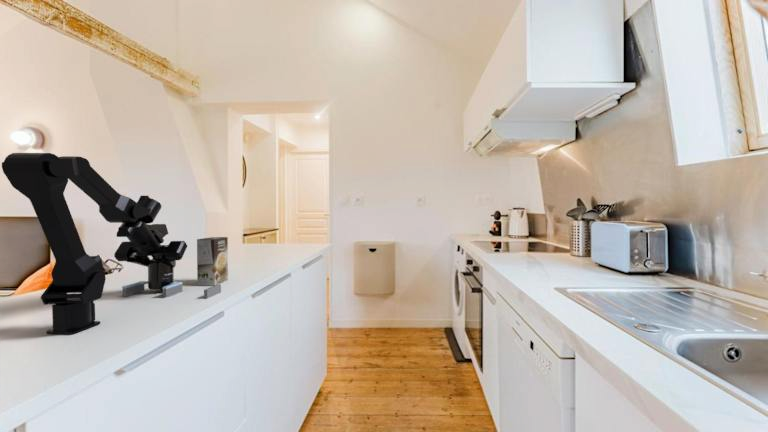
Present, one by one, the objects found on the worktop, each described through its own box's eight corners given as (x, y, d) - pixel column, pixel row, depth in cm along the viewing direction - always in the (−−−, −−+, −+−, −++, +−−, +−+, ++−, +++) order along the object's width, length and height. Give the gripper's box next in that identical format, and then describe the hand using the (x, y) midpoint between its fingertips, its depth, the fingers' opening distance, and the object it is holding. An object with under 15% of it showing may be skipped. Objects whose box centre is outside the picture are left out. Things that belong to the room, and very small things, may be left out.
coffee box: (215, 285, 112) (214, 239, 112) (196, 285, 112) (195, 239, 112) (228, 279, 121) (228, 236, 121) (212, 279, 122) (211, 236, 121)
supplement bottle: (171, 289, 103) (170, 251, 103) (145, 291, 101) (144, 252, 100) (175, 284, 110) (175, 248, 109) (151, 286, 107) (151, 249, 107)
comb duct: (207, 298, 97) (207, 288, 97) (122, 296, 99) (122, 286, 99) (221, 292, 104) (220, 282, 104) (141, 290, 106) (141, 281, 106)
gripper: (183, 215, 101) (201, 246, 113) (120, 215, 100) (144, 247, 111) (169, 243, 94) (189, 273, 105) (100, 243, 92) (128, 274, 104)
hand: (163, 266), depth 106 cm, fingers closed on supplement bottle, 7 cm apart
